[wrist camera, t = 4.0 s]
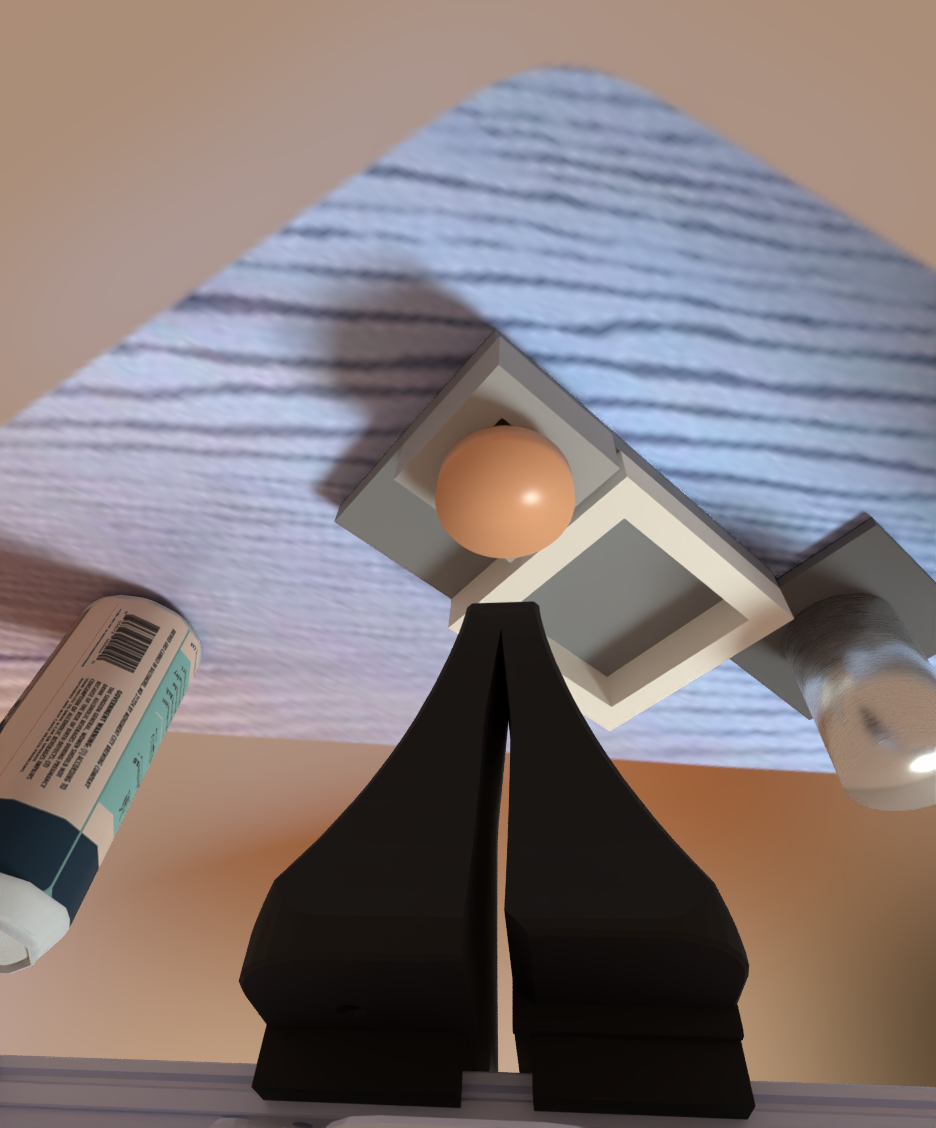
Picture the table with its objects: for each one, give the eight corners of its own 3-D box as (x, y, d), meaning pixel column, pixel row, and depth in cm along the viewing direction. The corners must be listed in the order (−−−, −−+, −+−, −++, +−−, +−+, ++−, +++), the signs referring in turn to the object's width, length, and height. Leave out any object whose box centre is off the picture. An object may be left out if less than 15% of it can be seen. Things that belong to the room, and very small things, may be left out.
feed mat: (975, 623, 25) (981, 630, 25) (806, 712, 28) (809, 720, 28) (872, 517, 22) (877, 524, 22) (699, 629, 26) (702, 637, 26)
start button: (593, 439, 20) (604, 499, 17) (509, 515, 22) (509, 579, 19) (500, 360, 18) (499, 412, 16) (420, 448, 20) (407, 507, 18)
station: (776, 567, 24) (804, 626, 22) (603, 682, 28) (611, 742, 26) (500, 323, 19) (498, 364, 17) (340, 505, 23) (321, 558, 21)
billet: (919, 631, 25) (1014, 772, 20) (821, 685, 27) (886, 824, 22) (859, 575, 23) (946, 712, 19) (760, 636, 25) (816, 774, 21)
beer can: (61, 600, 27) (-185, 911, 17) (163, 575, 26) (-39, 892, 16) (132, 679, 29) (-46, 985, 20) (228, 660, 28) (87, 974, 19)
